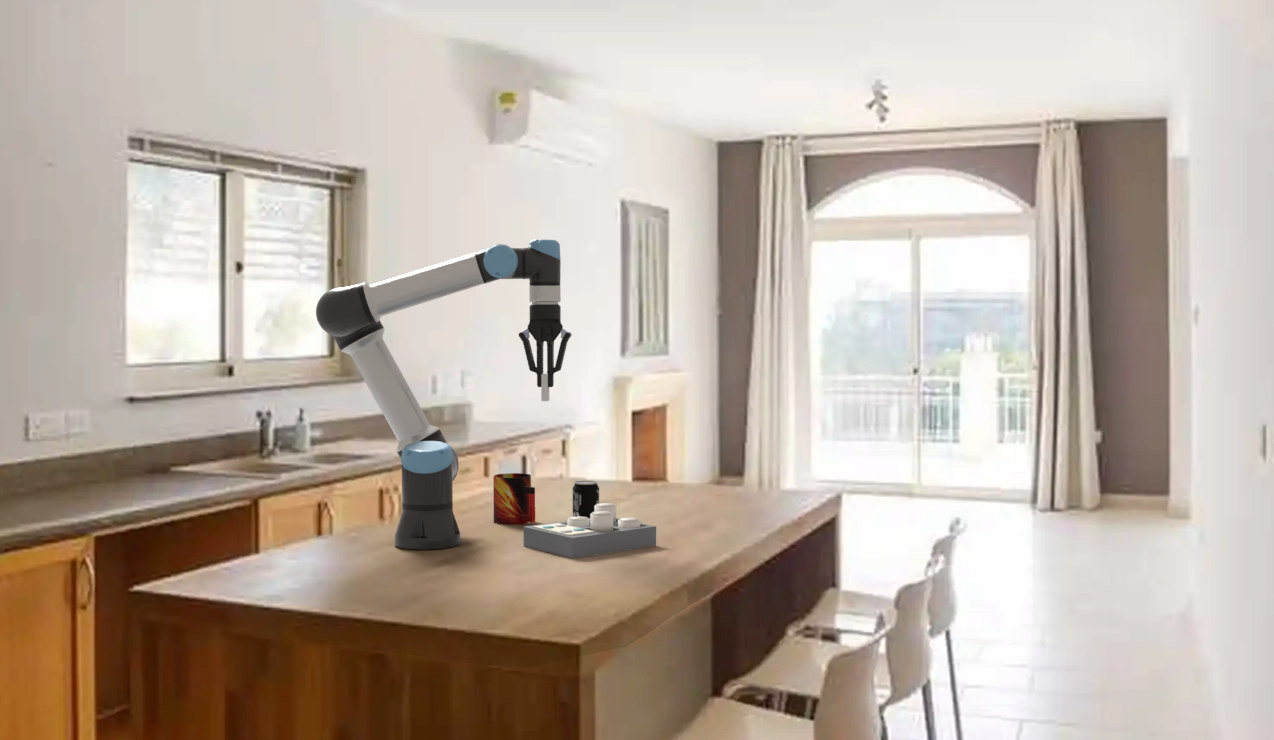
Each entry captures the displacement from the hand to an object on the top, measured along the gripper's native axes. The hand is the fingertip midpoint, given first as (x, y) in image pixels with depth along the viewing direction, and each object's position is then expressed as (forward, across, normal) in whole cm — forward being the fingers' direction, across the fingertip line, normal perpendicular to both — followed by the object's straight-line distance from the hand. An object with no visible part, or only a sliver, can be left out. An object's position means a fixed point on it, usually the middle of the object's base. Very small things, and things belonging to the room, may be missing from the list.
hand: (545, 400), depth 310 cm
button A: (+32, -10, +13) cm, 36 cm away
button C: (+29, -16, +19) cm, 39 cm away
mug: (+33, +10, -15) cm, 37 cm away
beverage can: (+33, -9, -5) cm, 34 cm away
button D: (+32, -22, +13) cm, 41 cm away
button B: (+29, -16, +7) cm, 34 cm away
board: (+32, -13, +16) cm, 38 cm away
